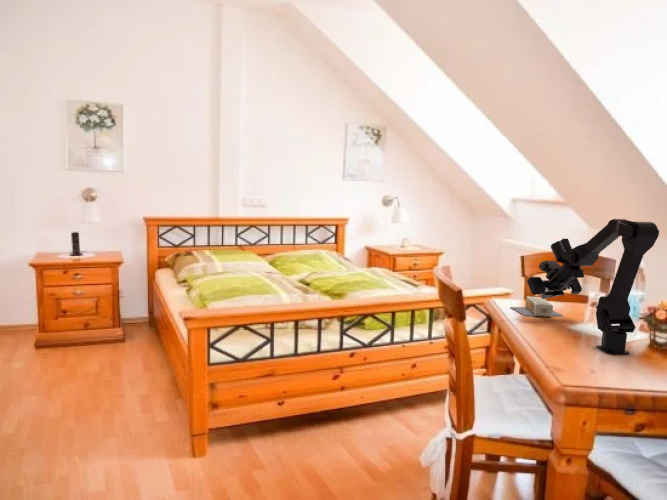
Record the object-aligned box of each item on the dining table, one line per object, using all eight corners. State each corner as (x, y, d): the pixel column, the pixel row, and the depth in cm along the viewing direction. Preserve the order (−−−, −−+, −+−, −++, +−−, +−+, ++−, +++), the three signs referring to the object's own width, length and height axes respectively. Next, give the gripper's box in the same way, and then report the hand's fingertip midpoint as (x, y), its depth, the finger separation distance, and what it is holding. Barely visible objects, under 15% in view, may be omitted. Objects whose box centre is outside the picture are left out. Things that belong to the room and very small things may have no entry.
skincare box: (552, 316, 191) (542, 308, 203) (553, 305, 190) (543, 297, 203) (534, 315, 192) (524, 307, 204) (535, 304, 191) (526, 296, 203)
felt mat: (562, 316, 194) (562, 315, 194) (524, 316, 192) (524, 315, 192) (546, 308, 205) (546, 307, 205) (510, 308, 203) (510, 307, 203)
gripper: (580, 254, 185) (557, 278, 198) (532, 254, 181) (512, 279, 193) (593, 281, 179) (568, 304, 191) (544, 281, 175) (522, 305, 187)
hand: (542, 297), depth 191 cm, fingers closed
